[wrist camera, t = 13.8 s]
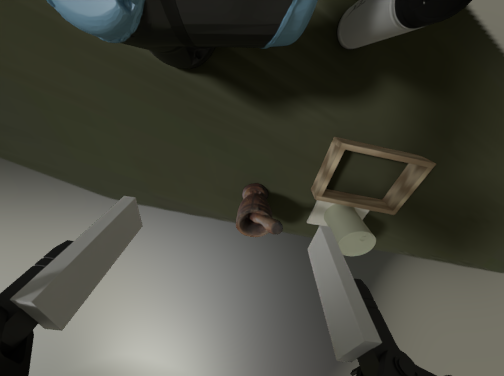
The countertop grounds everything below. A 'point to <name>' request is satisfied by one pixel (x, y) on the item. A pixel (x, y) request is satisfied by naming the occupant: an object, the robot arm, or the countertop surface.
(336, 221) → the can
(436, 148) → the countertop surface
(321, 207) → the mat
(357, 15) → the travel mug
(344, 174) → the countertop surface
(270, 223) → the mortar and pestle
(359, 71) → the countertop surface
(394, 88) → the countertop surface
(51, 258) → the robot arm
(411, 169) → the wooden frame
